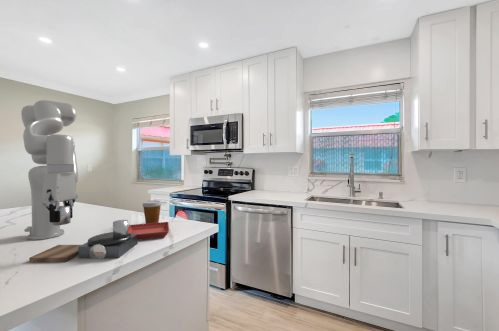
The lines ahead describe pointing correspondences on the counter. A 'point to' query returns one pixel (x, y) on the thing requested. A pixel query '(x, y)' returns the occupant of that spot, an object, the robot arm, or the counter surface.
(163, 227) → the plant saucer
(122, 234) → the cylinder
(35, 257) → the walnut board
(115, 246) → the scale
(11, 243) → the counter surface
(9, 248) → the counter surface
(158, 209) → the disposable coffee cup
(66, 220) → the cylinder
